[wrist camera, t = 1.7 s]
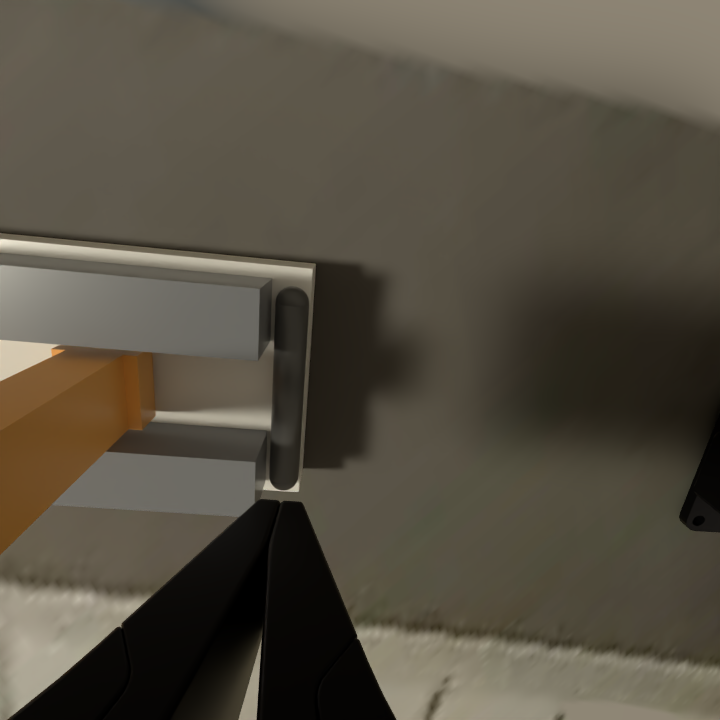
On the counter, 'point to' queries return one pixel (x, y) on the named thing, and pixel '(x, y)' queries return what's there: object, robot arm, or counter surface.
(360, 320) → the counter surface
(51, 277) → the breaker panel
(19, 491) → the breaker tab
